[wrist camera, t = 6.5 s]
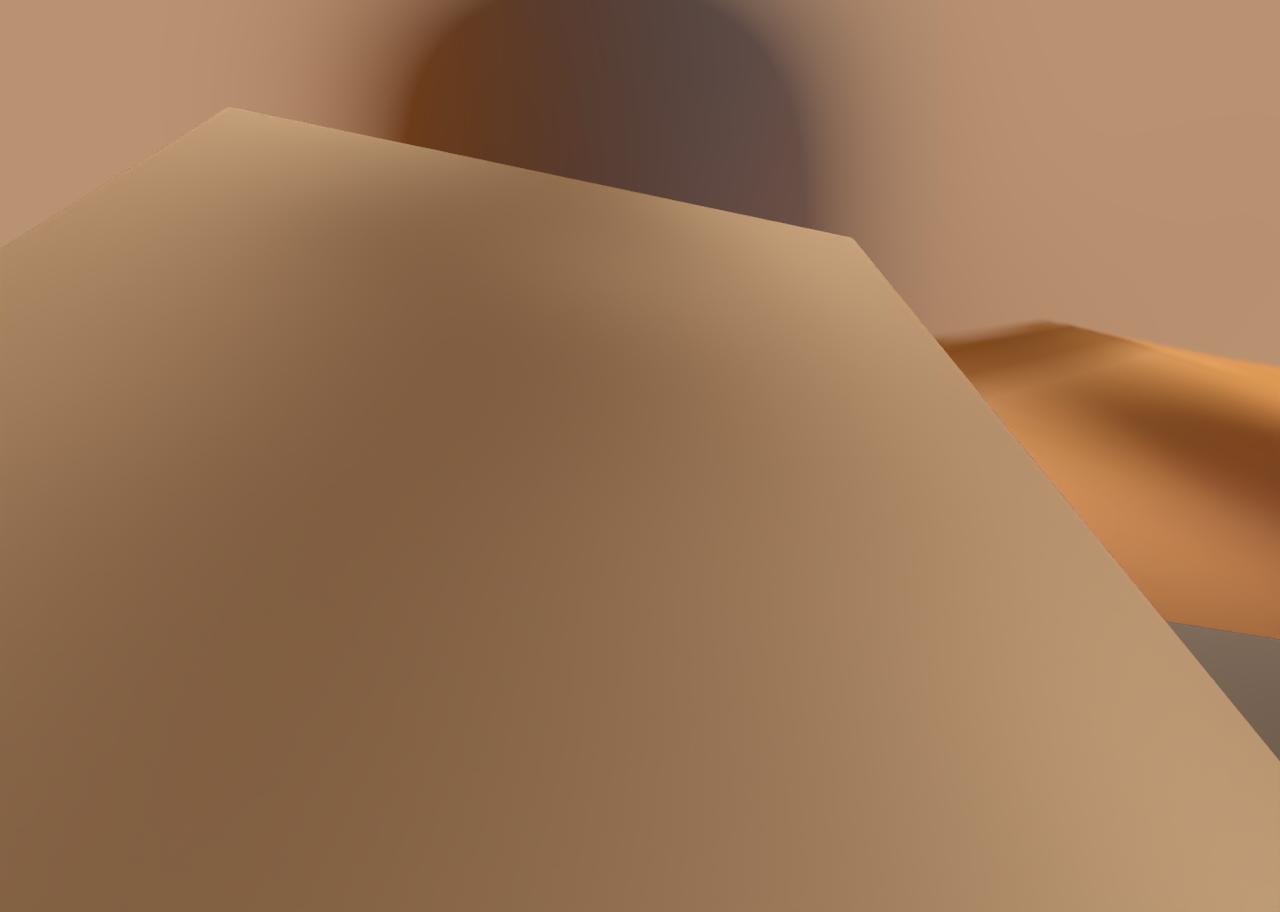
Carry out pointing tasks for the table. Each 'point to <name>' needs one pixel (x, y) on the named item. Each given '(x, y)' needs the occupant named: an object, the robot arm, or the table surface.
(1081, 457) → the table surface
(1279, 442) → the table surface
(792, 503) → the walnut box
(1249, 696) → the gray board
